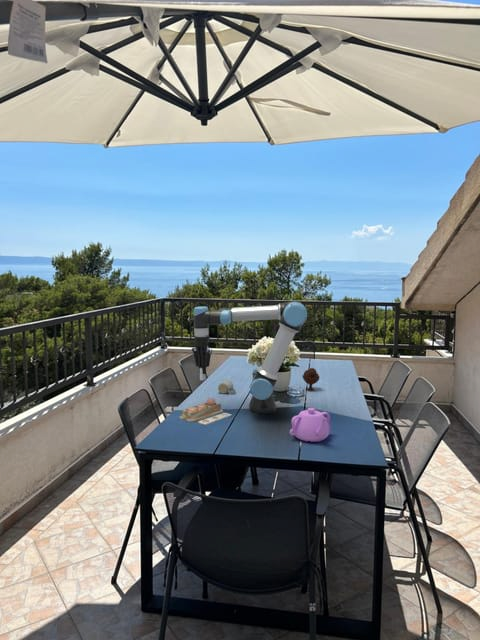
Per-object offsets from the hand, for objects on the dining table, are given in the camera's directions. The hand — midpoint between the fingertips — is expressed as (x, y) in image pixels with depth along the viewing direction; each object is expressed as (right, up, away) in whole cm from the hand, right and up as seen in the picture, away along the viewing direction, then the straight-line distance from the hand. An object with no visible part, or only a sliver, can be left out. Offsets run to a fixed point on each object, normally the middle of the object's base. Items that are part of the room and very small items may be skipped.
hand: (202, 379), depth 245 cm
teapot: (+54, -24, -32) cm, 67 cm away
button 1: (-5, -18, -4) cm, 19 cm away
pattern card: (+7, -20, -5) cm, 22 cm away
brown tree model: (+66, -14, +55) cm, 87 cm away
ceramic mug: (+12, -15, +46) cm, 50 cm away
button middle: (-1, -17, +1) cm, 17 cm away
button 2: (+4, -15, +6) cm, 17 cm away
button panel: (-1, -19, +1) cm, 19 cm away
